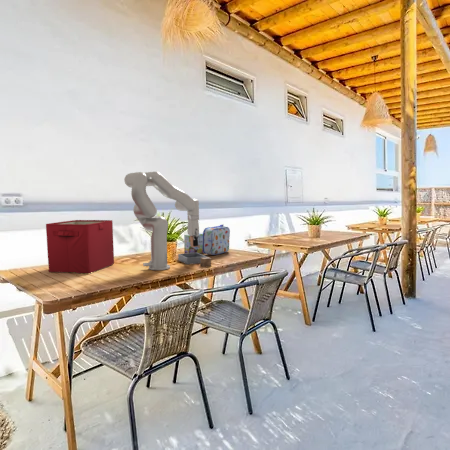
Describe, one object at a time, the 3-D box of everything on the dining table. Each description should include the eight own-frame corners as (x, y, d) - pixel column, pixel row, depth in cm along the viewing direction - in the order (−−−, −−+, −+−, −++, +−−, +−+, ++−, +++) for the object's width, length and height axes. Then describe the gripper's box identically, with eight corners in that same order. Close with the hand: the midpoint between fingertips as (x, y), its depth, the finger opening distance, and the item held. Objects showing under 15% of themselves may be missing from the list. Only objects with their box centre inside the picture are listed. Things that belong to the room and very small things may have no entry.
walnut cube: (203, 266, 206) (203, 258, 205) (200, 265, 210) (200, 257, 210) (211, 266, 208) (211, 258, 208) (207, 264, 212) (207, 257, 212)
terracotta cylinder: (192, 247, 217) (191, 236, 216) (189, 246, 222) (189, 235, 221) (199, 246, 219) (198, 236, 219) (196, 245, 224) (196, 235, 223)
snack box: (189, 255, 247) (189, 235, 246) (184, 254, 251) (183, 234, 249) (207, 251, 264) (207, 232, 263) (202, 251, 268) (202, 232, 266)
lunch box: (220, 250, 268) (220, 223, 267) (231, 251, 263) (231, 223, 261) (200, 255, 245) (200, 226, 243) (212, 257, 240) (212, 226, 238)
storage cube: (87, 275, 186) (85, 223, 184) (44, 273, 191) (42, 223, 189) (117, 263, 217) (115, 219, 215) (79, 262, 223) (78, 219, 220)
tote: (186, 264, 213) (186, 258, 213) (178, 259, 229) (178, 254, 229) (206, 262, 219) (206, 256, 219) (196, 258, 235) (196, 252, 235)
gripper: (183, 217, 225) (184, 244, 226) (192, 219, 209) (193, 247, 211) (194, 217, 228) (194, 243, 230) (203, 218, 213) (204, 246, 214)
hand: (194, 245), depth 220 cm, fingers closed on terracotta cylinder, 5 cm apart
